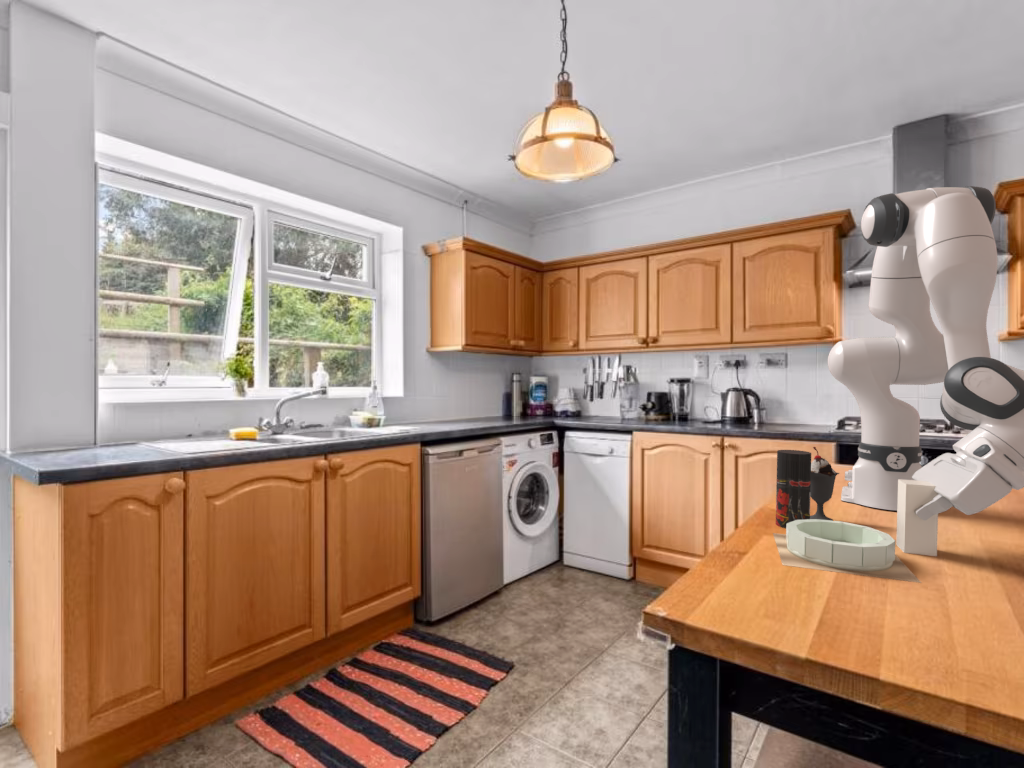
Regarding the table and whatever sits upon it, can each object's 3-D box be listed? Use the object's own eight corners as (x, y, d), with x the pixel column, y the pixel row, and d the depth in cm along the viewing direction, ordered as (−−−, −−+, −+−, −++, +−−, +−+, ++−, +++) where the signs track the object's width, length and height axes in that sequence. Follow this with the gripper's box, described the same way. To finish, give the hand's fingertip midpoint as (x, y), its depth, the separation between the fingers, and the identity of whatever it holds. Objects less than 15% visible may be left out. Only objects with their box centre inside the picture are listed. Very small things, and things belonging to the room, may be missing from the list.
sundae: (807, 513, 117) (808, 444, 116) (842, 519, 112) (844, 448, 112) (796, 519, 112) (798, 447, 112) (833, 526, 107) (834, 451, 107)
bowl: (782, 536, 99) (783, 515, 99) (878, 546, 93) (879, 525, 93) (792, 563, 85) (792, 539, 85) (905, 577, 79) (906, 551, 79)
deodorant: (814, 533, 102) (815, 454, 102) (780, 531, 104) (782, 453, 103) (803, 524, 108) (805, 450, 108) (772, 522, 109) (773, 449, 109)
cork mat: (772, 535, 101) (772, 533, 101) (886, 547, 94) (886, 545, 94) (782, 567, 84) (782, 564, 84) (921, 585, 78) (921, 582, 78)
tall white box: (896, 546, 95) (898, 479, 94) (927, 550, 93) (929, 481, 93) (904, 554, 91) (906, 484, 90) (936, 558, 89) (938, 486, 89)
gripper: (945, 437, 99) (881, 485, 102) (998, 453, 80) (916, 511, 83) (975, 463, 97) (908, 511, 101) (1036, 485, 78) (951, 544, 82)
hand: (912, 512), depth 92 cm, fingers closed on tall white box, 4 cm apart
